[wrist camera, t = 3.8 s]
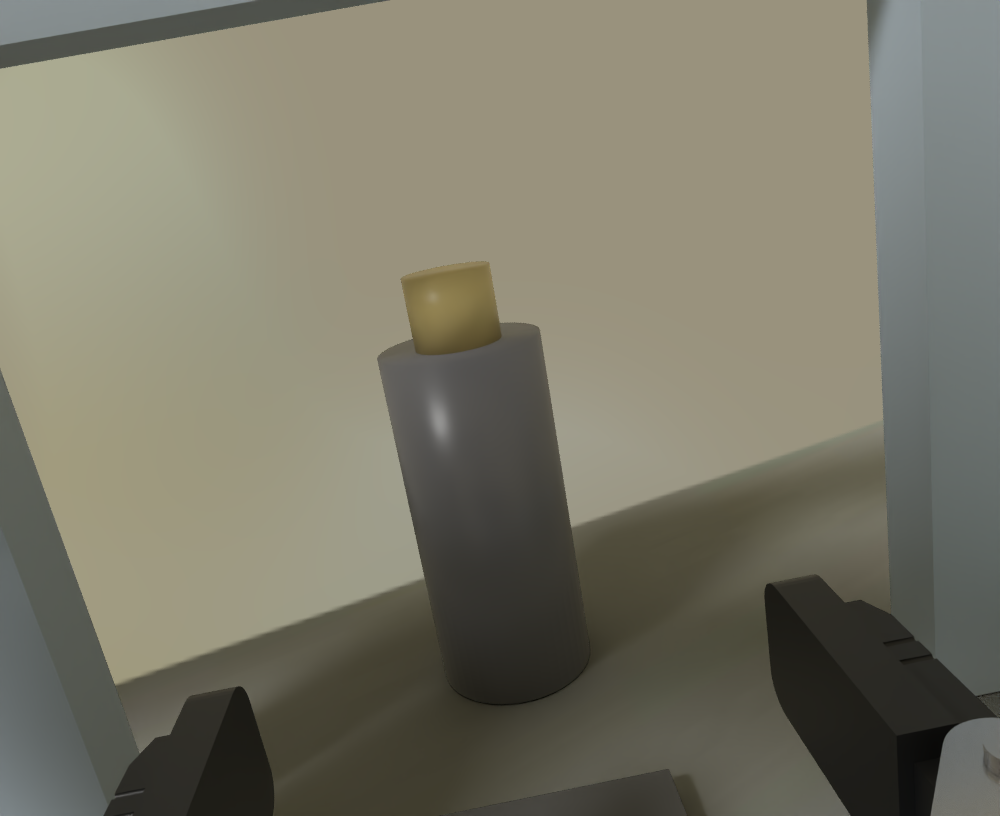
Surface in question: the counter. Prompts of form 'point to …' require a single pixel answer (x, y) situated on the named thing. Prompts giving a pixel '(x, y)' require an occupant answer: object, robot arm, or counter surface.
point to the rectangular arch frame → (904, 363)
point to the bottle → (485, 489)
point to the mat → (598, 800)
